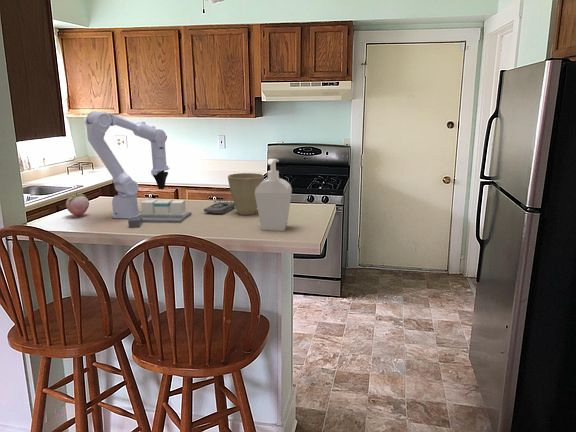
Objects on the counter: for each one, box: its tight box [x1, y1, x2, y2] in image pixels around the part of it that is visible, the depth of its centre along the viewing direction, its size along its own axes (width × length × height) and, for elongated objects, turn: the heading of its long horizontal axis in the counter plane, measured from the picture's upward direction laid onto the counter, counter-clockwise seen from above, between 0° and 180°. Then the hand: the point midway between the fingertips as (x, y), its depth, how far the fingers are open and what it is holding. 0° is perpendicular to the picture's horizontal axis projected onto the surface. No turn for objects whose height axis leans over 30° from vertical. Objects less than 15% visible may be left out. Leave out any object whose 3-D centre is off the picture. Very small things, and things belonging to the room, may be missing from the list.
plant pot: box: [227, 172, 264, 216], centre depth 200 cm, size 15×15×16 cm
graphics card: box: [203, 199, 236, 215], centre depth 207 cm, size 17×4×12 cm
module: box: [154, 199, 173, 215], centre depth 194 cm, size 6×5×5 cm
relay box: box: [127, 216, 144, 229], centre depth 184 cm, size 4×6×3 cm, turn 7°
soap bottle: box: [255, 158, 293, 232], centre depth 174 cm, size 12×10×26 cm
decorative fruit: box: [65, 192, 90, 217], centre depth 199 cm, size 9×8×10 cm
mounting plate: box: [140, 199, 192, 224], centre depth 194 cm, size 18×14×7 cm
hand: (161, 189), depth 207 cm, fingers closed
